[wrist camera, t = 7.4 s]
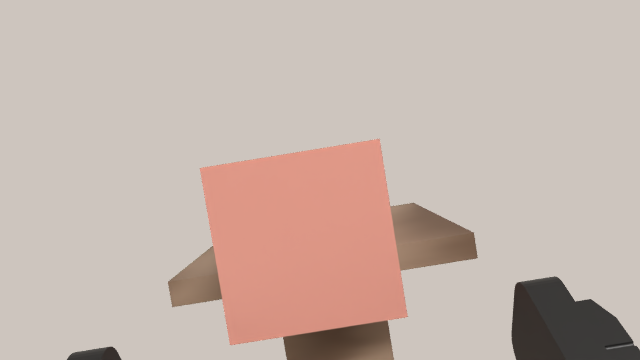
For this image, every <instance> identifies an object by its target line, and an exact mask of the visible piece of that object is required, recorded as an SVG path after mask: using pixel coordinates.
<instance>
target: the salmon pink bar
mask: <svg viewBox="0 0 640 360" xmlns="http://www.w3.org/2000/svg"><path fill="white" fill-rule="evenodd" d="M200 171H201V177H202V183H203V189H204V195H205V201H206V206H207V212H208V218H209V224H210V230H211V236H212V241H213V248H214V253H215V259H216V265H217V271H218V277H219V283H220V289H221V294H222V300H223V305H224V312H225V317H226V324H227V329H228V335H229V341H230V345H235V344H241V343H248V342H254V341H260V340H266V339H272V338H279V337H285V336H292V335H298V334H304V333H311V332H317V331H323V330H329V329H336V328H342V327H348V326H355V325H361V324H367V323H373V322H380V321H386V320H392V319H399V318H405V317H408V316H407V310H406V304H405V297H404V291H403V284H402V278H401V272H400V265H399V259H398V253H397V246H396V240H395V234H394V227H393V221H392V215H391V208H390V202H389V195H388V190H387V183H386V177H385V170H384V164H383V157H382V151H381V145H380V140H379V139H376V140H370V141H363V142H357V143H352V144H345V145H339V146H333V147H327V148H320V149H315V150H308V151H302V152H296V153H290V154H284V155H277V156H271V157H266V158H259V159H253V160H247V161H241V162H234V163H228V164H222V165H216V166H210V167H204V168H200Z"/></svg>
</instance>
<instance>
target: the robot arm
mask: <svg viewBox="0 0 640 360" xmlns="http://www.w3.org/2000/svg"><path fill="white" fill-rule="evenodd" d="M513 307H514V308H513V322H512V344H513V349H514V353H515V356H516V360H640V350H639V349H638V347H637V346H634V344H633V341H632V339H631V337H630V336H629V335H628V333H627V332H626V331H625V329H624V328H623V326H622V325H621V324H620V322H619V321H618V319H617V318H616V317H615V316H613V315H612V314H610V313H609V312H608V311H606V310H605V309H603V308H602V307H601V306H599V305H598V304H597V303H595V302H594V301H593V300H591V299H589V300H582V301H576V302H575V301H574V299H573V297H572V296H571V295H570V293H569V291H568V290H567V288H566V287H565V285H564V284H563V282H562V281H561V280H560V279H559V278H558V277H549V278H543V279H536V280H530V281H524V282H518V283H517V284H516V286H515V292H514V306H513ZM67 360H121V358H120V356H119V354H118V352H117V351H116V350H115V348H113V347H106V348H99V349H93V350H87V351H81V352H75V353H72V354H71V355H70V356H69V357H68V359H67Z"/></svg>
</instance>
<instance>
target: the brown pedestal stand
mask: <svg viewBox="0 0 640 360" xmlns="http://www.w3.org/2000/svg"><path fill="white" fill-rule="evenodd" d="M390 208H391V215H392V221H393V227H394V234H395V240H396V246H397V253H398V259H399V265H400V271H401V270H407V269H413V268H419V267H425V266H431V265H438V264H444V263H450V262H456V261H462V260H469V259H476V258H477V251H476V244H475V238H474V233H473V232H471V231H469V230H467V229H465V228H463V227H461V226H459V225H457V224H455V223H453V222H451V221H449V220H447V219H445V218H443V217H441V216H439V215H437V214H435V213H433V212H431V211H429V210H427V209H425V208H423V207H421V206H419V205H416V204H415V203H410V204H403V205H398V206H391V207H390ZM168 285H169V291H170V296H171V302H172V307H175V306H182V305H188V304H194V303H200V302H207V301H213V300H219V299H222V294H221V289H220V283H219V277H218V271H217V265H216V259H215V253H214V248H213V246H212V247H211V248H210V249H208V250H207V251H206V252H205V253H203V254H202V255H201V256H200V257H198V258H197V259H196V260H195V261H193V262H192V263H191V264H190V265H188V266H187V267H186V268H185V269H183V270H182V271H181V272H180V273H179V274H177V275H176V276H175V277H173V278H172V279H171V280H170V281H169V282H168ZM283 339H284V345H285V351H286V357H287V360H394V358H393V352H392V345H391V339H390V333H389V326H388V320H386V321H380V322H373V323H367V324H361V325H355V326H348V327H342V328H336V329H329V330H323V331H317V332H311V333H304V334H298V335H292V336H285V337H283Z"/></svg>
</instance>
